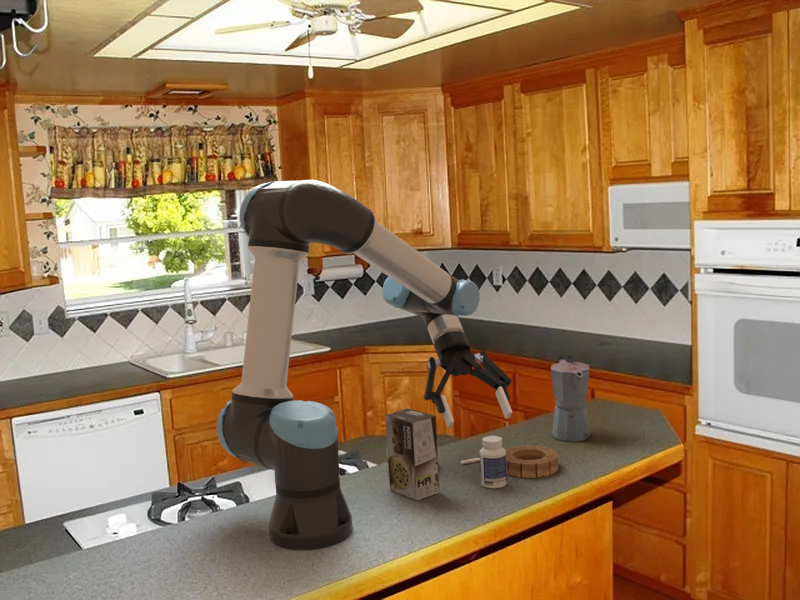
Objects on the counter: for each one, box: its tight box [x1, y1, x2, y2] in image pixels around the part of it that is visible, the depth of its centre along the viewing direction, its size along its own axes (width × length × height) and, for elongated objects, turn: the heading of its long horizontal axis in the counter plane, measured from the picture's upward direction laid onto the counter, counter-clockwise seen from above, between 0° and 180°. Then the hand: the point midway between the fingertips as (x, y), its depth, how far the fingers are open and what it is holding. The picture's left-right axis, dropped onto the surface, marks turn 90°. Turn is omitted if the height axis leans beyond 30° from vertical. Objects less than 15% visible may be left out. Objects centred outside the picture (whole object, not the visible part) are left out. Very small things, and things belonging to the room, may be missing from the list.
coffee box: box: [384, 408, 440, 501], centre depth 168 cm, size 9×6×16 cm
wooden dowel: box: [460, 457, 480, 465], centre depth 186 cm, size 16×1×1 cm, turn 110°
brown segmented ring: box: [505, 445, 559, 479], centre depth 178 cm, size 12×12×3 cm
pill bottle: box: [479, 435, 508, 489], centre depth 170 cm, size 5×5×10 cm
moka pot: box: [550, 354, 591, 443], centre depth 197 cm, size 10×15×20 cm, turn 14°
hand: (480, 420), depth 176 cm, fingers open, 13 cm apart
